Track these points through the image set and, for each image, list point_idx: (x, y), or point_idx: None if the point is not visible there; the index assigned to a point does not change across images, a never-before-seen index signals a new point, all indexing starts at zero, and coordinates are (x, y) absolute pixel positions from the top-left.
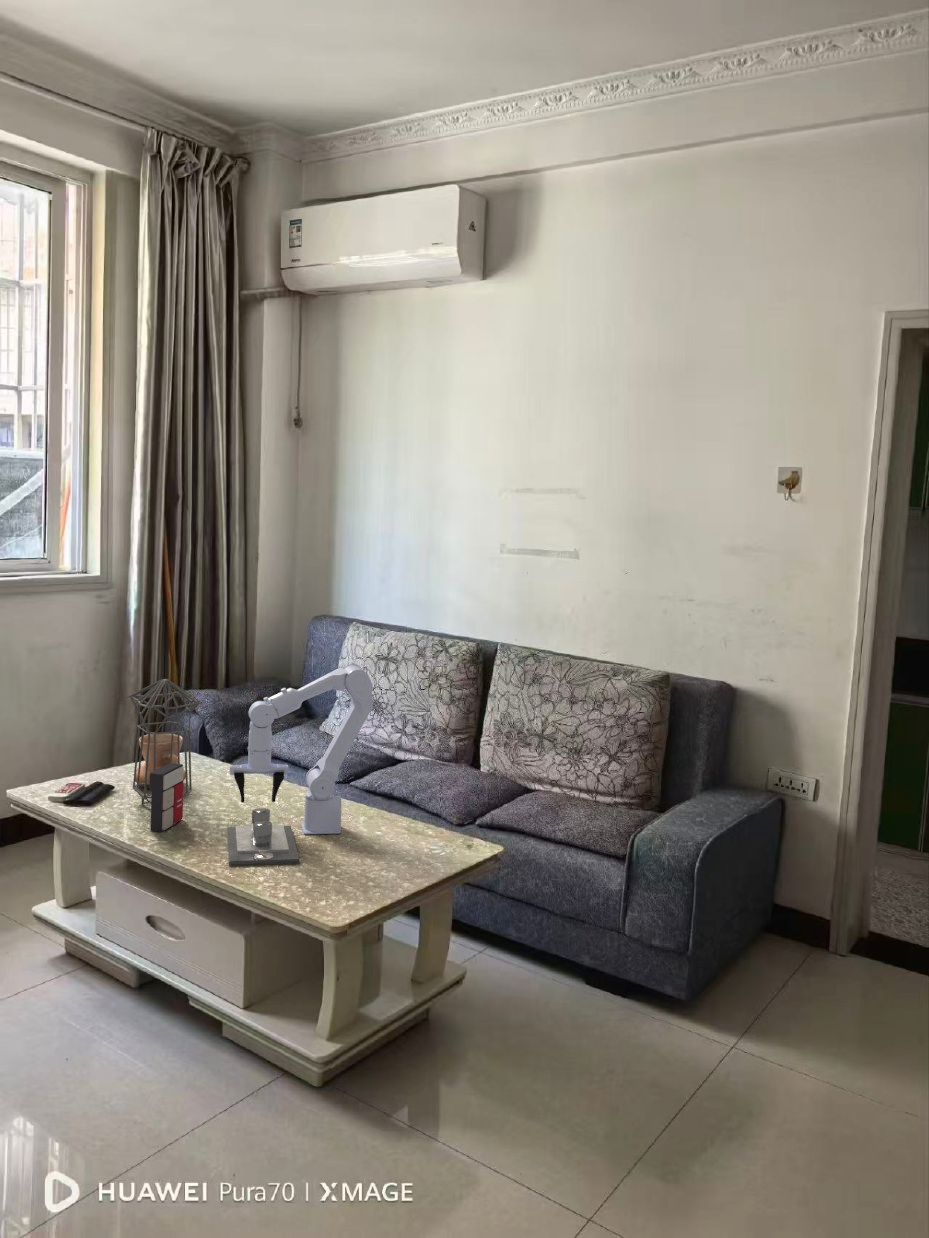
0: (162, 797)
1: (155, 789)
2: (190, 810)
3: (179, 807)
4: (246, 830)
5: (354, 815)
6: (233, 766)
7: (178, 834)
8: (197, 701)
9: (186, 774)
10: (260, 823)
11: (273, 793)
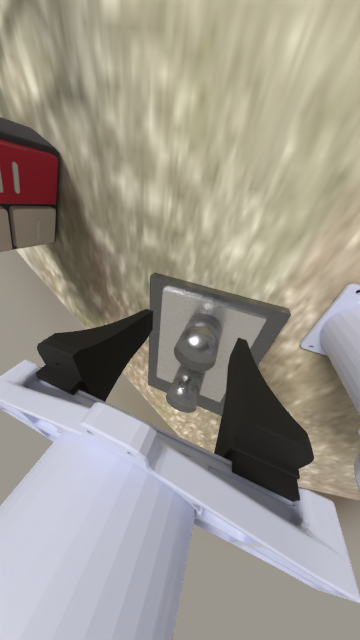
0: None
1: None
2: (48, 3)
3: (22, 176)
4: (179, 320)
5: None
6: (6, 408)
7: (81, 260)
8: None
9: None
10: (176, 400)
11: (227, 384)
